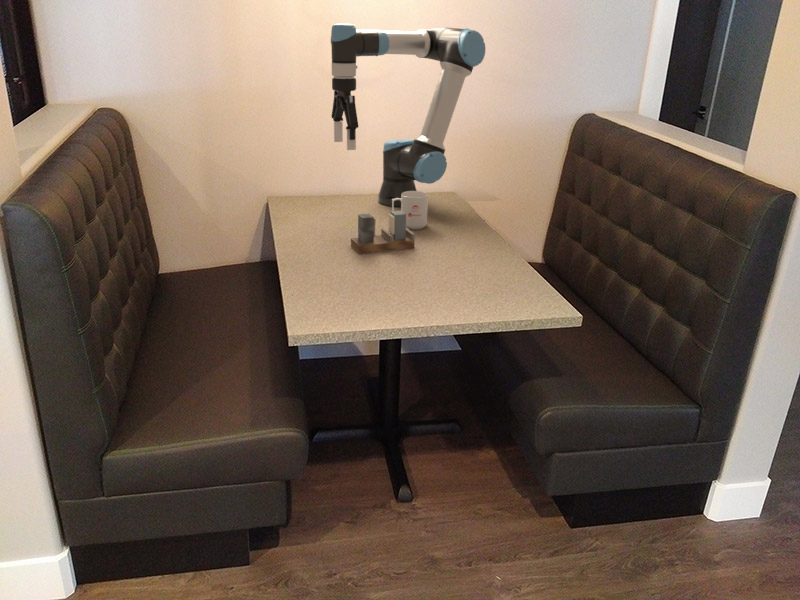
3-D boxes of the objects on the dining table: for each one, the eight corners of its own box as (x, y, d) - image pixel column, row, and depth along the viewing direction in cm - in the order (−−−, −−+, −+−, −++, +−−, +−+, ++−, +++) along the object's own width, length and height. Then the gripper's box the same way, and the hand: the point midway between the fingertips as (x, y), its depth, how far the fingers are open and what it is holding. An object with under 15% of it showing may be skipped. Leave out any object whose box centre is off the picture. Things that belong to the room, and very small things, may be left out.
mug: (424, 222, 244) (425, 190, 240) (428, 230, 236) (430, 197, 232) (390, 222, 243) (390, 191, 238) (393, 230, 235) (393, 198, 230)
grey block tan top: (400, 235, 223) (401, 210, 219) (405, 238, 219) (406, 213, 216) (388, 236, 221) (388, 211, 218) (392, 240, 218) (393, 215, 215)
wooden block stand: (404, 240, 226) (405, 208, 222) (414, 247, 219) (415, 215, 215) (350, 245, 220) (350, 213, 216) (359, 254, 213) (359, 220, 209)
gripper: (368, 81, 211) (368, 152, 219) (343, 72, 232) (344, 138, 241) (344, 82, 208) (345, 154, 217) (321, 73, 229) (322, 139, 238)
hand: (344, 145), depth 229 cm, fingers open, 13 cm apart
